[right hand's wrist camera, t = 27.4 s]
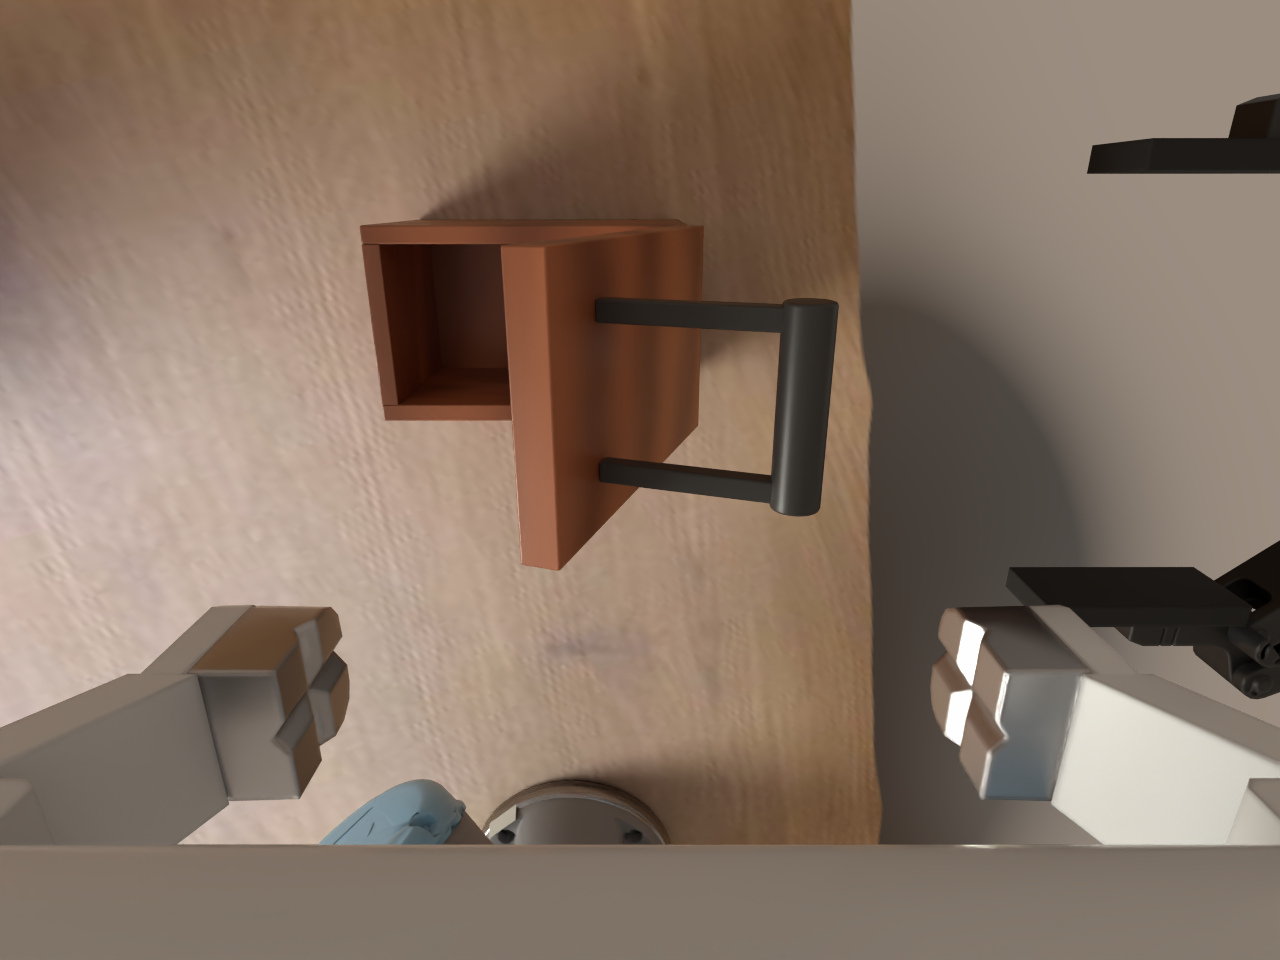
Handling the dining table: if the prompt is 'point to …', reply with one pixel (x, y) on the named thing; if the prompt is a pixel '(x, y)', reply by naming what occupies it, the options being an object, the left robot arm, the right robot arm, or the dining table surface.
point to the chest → (451, 310)
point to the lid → (641, 382)
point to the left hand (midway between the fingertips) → (1065, 399)
